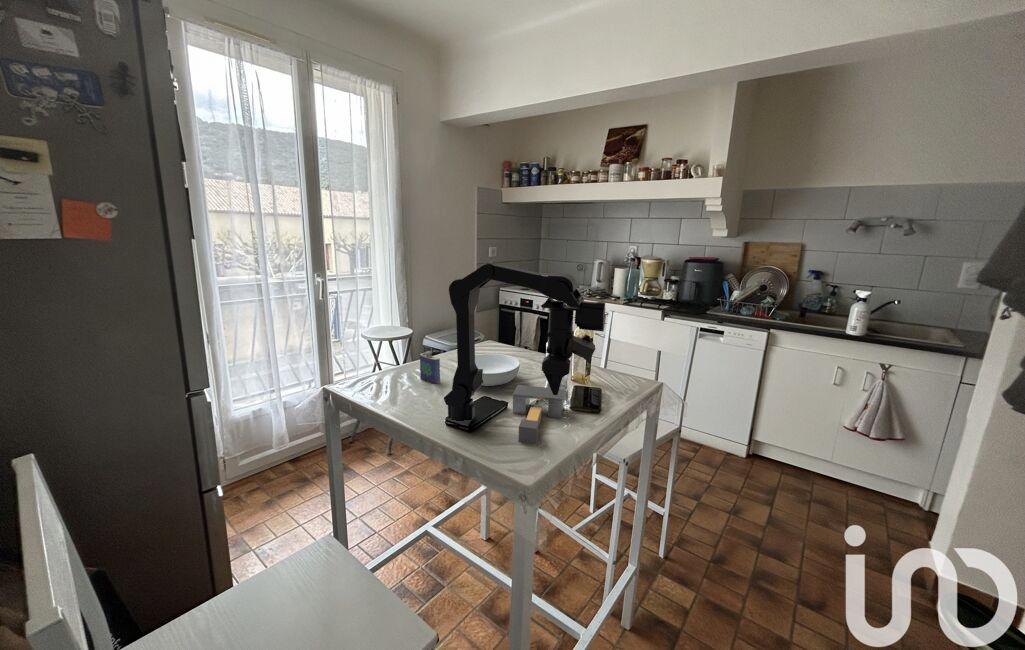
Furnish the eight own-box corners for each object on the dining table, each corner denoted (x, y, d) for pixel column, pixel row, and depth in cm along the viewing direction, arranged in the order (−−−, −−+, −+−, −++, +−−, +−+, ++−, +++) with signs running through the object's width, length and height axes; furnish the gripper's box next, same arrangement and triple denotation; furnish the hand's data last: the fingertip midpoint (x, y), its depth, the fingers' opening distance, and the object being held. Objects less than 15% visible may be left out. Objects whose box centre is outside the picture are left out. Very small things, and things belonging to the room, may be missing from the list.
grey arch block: (512, 412, 117) (513, 394, 116) (517, 402, 124) (517, 384, 122) (561, 418, 114) (562, 399, 113) (563, 407, 121) (564, 389, 120)
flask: (442, 382, 138) (441, 353, 136) (435, 385, 136) (434, 355, 133) (424, 376, 144) (423, 347, 141) (417, 378, 142) (416, 349, 139)
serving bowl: (521, 371, 150) (522, 354, 148) (516, 395, 130) (517, 374, 128) (466, 369, 152) (466, 351, 150) (452, 391, 132) (452, 371, 130)
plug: (518, 441, 102) (518, 426, 101) (528, 416, 115) (528, 402, 114) (536, 443, 101) (536, 428, 100) (543, 418, 114) (544, 404, 113)
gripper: (594, 340, 87) (589, 407, 91) (594, 320, 105) (590, 376, 108) (543, 336, 89) (539, 401, 93) (551, 317, 107) (548, 372, 110)
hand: (557, 387), depth 101 cm, fingers open, 9 cm apart
